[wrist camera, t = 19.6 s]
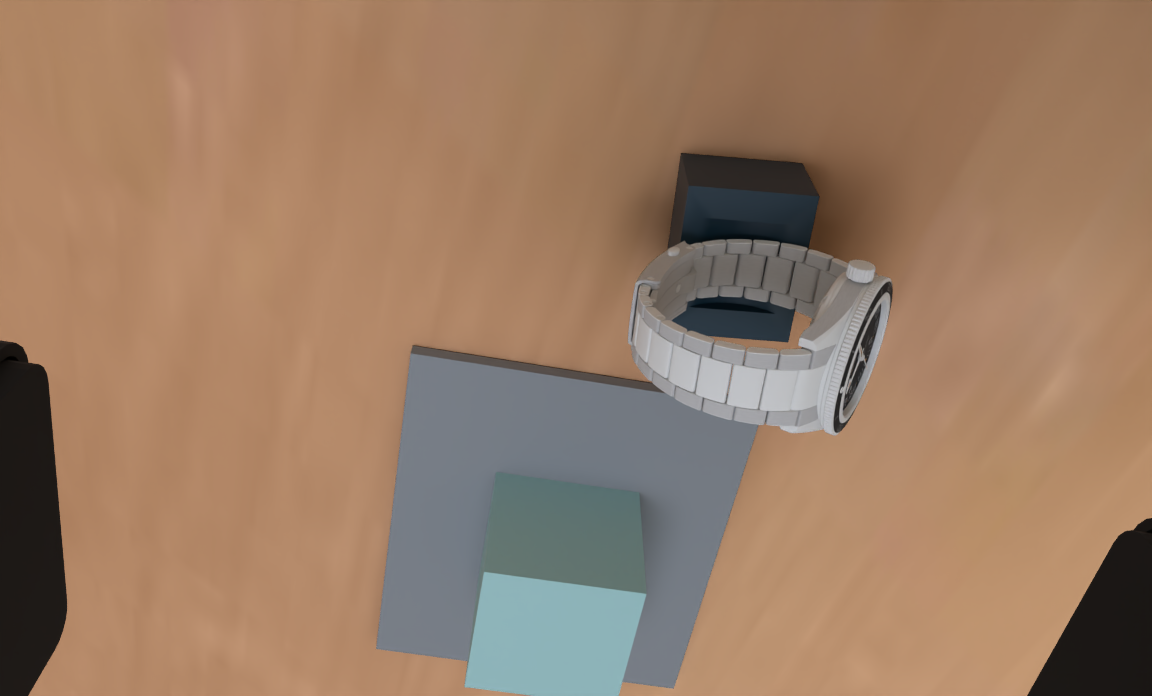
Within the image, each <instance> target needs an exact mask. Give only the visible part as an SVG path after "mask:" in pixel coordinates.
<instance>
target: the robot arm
mask: <svg viewBox="0 0 1152 696" xmlns="http://www.w3.org/2000/svg"><path fill="white" fill-rule="evenodd" d="M66 614H67V594H66V583H65V571H64V559H63V548H62V536H61V524H60V512H59V501H58V489H57V477H56V465H55V454H54V442H53V430H52V419H51V407H50V395H49V383H48V377H47V373H46V371H45V369H44V367H42V366H41V365H39V364H33V363H28V358H27V355H26V353H25V351H24V349H23V347H22V346H20V345H18V344H17V343H13V342H6V341H0V696H28V695H29V693H30V691H31V690H32V688H33V686H34V685H35V683H36V681H37V679H38V678H39V676H40V674H41V673H42V671H43V669H44V667H45V666H46V664H47V662H48V661H49V659H50V657H51V656H52V654H53V652H54V650H55V648H56V646H57V644H58V642H59V640H60V637H61V635H62V632H63V628H64V624H65V620H66ZM1027 696H1152V518H1149V519H1146V520H1144V521H1143V522H1141V523H1140V524H1138V525H1137V526H1136V528H1135V529H1134V530H1131V531H1125V532H1124V533H1122V534H1121V535H1119V536H1118V538H1117V539H1116V540H1115V542H1114V543H1113V545H1112V547H1111V548H1110V550H1109V552H1108V554H1107V556H1106V557H1105V559H1104V561H1103V563H1102V564H1101V566H1100V568H1099V570H1098V571H1097V573H1096V575H1095V577H1094V579H1093V580H1092V582H1091V584H1090V586H1089V587H1088V589H1087V591H1086V593H1085V594H1084V596H1083V598H1082V600H1081V602H1080V603H1079V605H1078V607H1077V609H1076V610H1075V612H1074V614H1073V616H1072V617H1071V619H1070V621H1069V623H1068V625H1067V626H1066V628H1065V630H1064V632H1063V633H1062V635H1061V637H1060V639H1059V640H1058V642H1057V644H1056V646H1055V648H1054V649H1053V651H1052V653H1051V655H1050V656H1049V658H1048V660H1047V662H1046V663H1045V665H1044V667H1043V669H1042V671H1041V672H1040V674H1039V676H1038V678H1037V679H1036V681H1035V683H1034V685H1033V686H1032V688H1031V690H1030V692H1029V694H1028V695H1027Z"/></svg>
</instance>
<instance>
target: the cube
mask: <svg viewBox="0 0 1152 696" xmlns="http://www.w3.org/2000/svg"><path fill="white" fill-rule="evenodd" d="M646 594H647V593H646V579H645V565H644V551H643V537H642V523H641V509H640V495H639V492H632V491H625V490H618V489H611V488H604V487H597V486H590V485H583V484H576V483H569V482H562V481H555V480H548V479H542V478H535V477H528V476H521V475H514V474H507V473H500V472H496V476H495V482H494V488H493V494H492V500H491V506H490V512H489V518H488V524H487V530H486V536H485V542H484V548H483V554H482V560H481V566H480V572H479V578H478V585H477V593H476V601H475V608H474V616H473V624H472V632H471V640H470V648H469V655H468V663H467V671H466V679H465V687H469V688H477V689H485V690H493V691H501V692H509V693H516V694H524V695H532V696H619V692H620V688H621V685H622V681H623V678H624V674H625V670H626V667H627V663H628V659H629V656H630V652H631V649H632V645H633V641H634V638H635V634H636V630H637V627H638V623H639V620H640V616H641V612H642V609H643V605H644V602H645V598H646Z"/></svg>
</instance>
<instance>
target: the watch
mask: <svg viewBox="0 0 1152 696" xmlns="http://www.w3.org/2000/svg"><path fill="white" fill-rule="evenodd" d="M818 201H819V195H818V193H817V191H816V189H815V187H814V185H813V183H812V181H811V179H810V177H809V175H808V173H807V171H806V169H805V168H804V166H803V164H802V163H792V162H780V161H768V160H756V159H745V158H733V157H721V156H709V155H697V154H686V153H681V157H680V164H679V171H678V178H677V185H676V192H675V199H674V206H673V214H672V221H671V228H670V235H669V242H668V249H667V251H665V252H664V253H662V254H661V255H659V256H658V257H656V258H655V259H654V260H653V261H652V262H651V263H650V264H649V265H648V266H647V267H646V268H645V269H644V270H643V272H642V273H641V275H640V276H639V278H638V280H637V281H636V283H635V288H634V294H633V301H632V307H631V314H630V323H629V333H628V343H629V344H630V345H632V346H631V350H632V357H633V359H634V362H635V364H637V366H638V368H639V369H640V371H641V372H642V373H643V374H644V376H645V377H646V378H647V379H648V380H650V381H652V383H653V384H654V385H655V386H657V387H658V388H659V389H661V390H662V391H664V392H665V393H667V394H668V395H670V396H674V398H675V399H676V400H678V401H680V402H682V403H683V404H685V405H688V406H690V407H692V408H694V409H697V410H701V409H702V410H703V412H706V413H708V414H711V415H714V416H717V417H721V418H724V419H728V420H732V419H734V420H735V421H739V422H744V423H750V424H758V425H764V424H765V422H766V424H767V425H773V426H780V429H782V430H784V431H787V432H790V433H804V432H812V431H817V430H822V429H824V430H825V432H826V433H829V434H831V435H837V434H838V433H839V432H840V431H841V430H842V429H843V428H844V427H845V425H846V424H847V423H848V421H849V419H850V418H851V416H852V414H853V412H854V411H855V409H856V407H857V405H858V403H859V401H860V398H861V396H862V394H863V392H864V390H865V387H866V385H867V383H868V380H869V378H870V375H871V373H872V370H873V367H874V365H875V362H876V359H877V356H878V353H879V350H880V347H881V344H882V340H883V337H884V333H885V330H886V326H887V322H888V317H889V313H890V308H891V302H892V281H891V279H890V278H888V277H885V276H878V274H877V273H876V272H875V269H876V267H875V265H873V264H872V263H870V262H867V261H864V260H858V259H857V260H851V261H849V263H846V262H844V261H842V260H840V259H837V258H834V257H833V256H831V255H828V254H825V253H822V252H819V251H816V250H812V249H809V250H808V247H809V243H810V238H811V233H812V229H813V224H814V219H815V215H816V210H817V206H818ZM833 258H834V259H833ZM795 310H796V311H797V312H799V313H802V314H804V315H806V316H808V317H810V318H812V321H811V323H810V326H809V327H808V328H807V329H806V330H804V331H803V333H802V335H801V336H800V340H799V344H798V345H799V346H801V347H802V348H801V349H782V350H781V351H780V353H779V352H778V350H776V349H773V348H758V347H749V348H747V351H746V348H745V346H743V345H740V344H734V343H729V342H725V341H716V342H715V343H714V339H713V338H712V337H709V336H715V337H728V338H741V339H753V340H766V341H779V342H788V340H789V336H790V331H791V326H792V322H793V317H794V312H795ZM745 351H746V356H745ZM744 356H745V361H744ZM733 364H734V365H733ZM732 365H733V371H732ZM731 371H732V376H731ZM730 376H731V381H730ZM729 381H730V387H729ZM728 387H729V392H728ZM727 392H728V397H727ZM726 397H727V399H726ZM760 397H761V398H760ZM735 406H736V408H735ZM734 408H735V413H734ZM733 413H734V418H733Z"/></svg>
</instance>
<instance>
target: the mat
mask: <svg viewBox="0 0 1152 696" xmlns="http://www.w3.org/2000/svg"><path fill="white" fill-rule="evenodd" d="M727 397H728V395H727ZM727 397H726V399H727ZM735 408H736V406H735ZM735 408H734V413H735ZM734 413H733V418H734ZM757 428H758V424H750V423H744V422H739V421H735V420H734V419H732V420H728V419H724V418H721V417H717V416H714V415H711V414H708V413H706V412H703V410H702V409H701V410H697V409H694V408H692V407H690V406H688V405H685V404H683V403H682V402H680V401H678V400H676V399H675V398H674V396H670V395H668V394H667V393H665V392H664V391H662V390H661V389H659V388H658V387H657V386H655V385H654V384H653V383H647V382H641V381H634V380H628V379H622V378H615V377H609V376H602V375H596V374H590V373H583V372H577V371H571V370H564V369H558V368H552V367H545V366H539V365H533V364H526V363H520V362H514V361H507V360H501V359H495V358H488V357H482V356H476V355H469V354H463V353H457V352H450V351H444V350H438V349H431V348H425V347H419V346H413V347H412V351H411V355H410V364H409V373H408V381H407V390H406V398H405V407H404V415H403V424H402V433H401V441H400V450H399V458H398V467H397V475H396V484H395V493H394V501H393V510H392V518H391V527H390V535H389V544H388V553H387V561H386V570H385V578H384V587H383V595H382V604H381V612H380V621H379V630H378V638H377V647H376V649H381V650H388V651H396V652H403V653H411V654H418V655H426V656H433V657H441V658H448V659H456V660H463V661H468V655H469V648H470V640H471V632H472V624H473V616H474V608H475V601H476V593H477V585H478V578H479V572H480V566H481V560H482V554H483V548H484V542H485V536H486V530H487V524H488V518H489V512H490V506H491V500H492V494H493V488H494V482H495V476H496V472H500V473H507V474H514V475H521V476H528V477H535V478H542V479H548V480H555V481H562V482H569V483H576V484H583V485H590V486H597V487H604V488H611V489H618V490H625V491H632V492H639V495H640V509H641V523H642V537H643V551H644V565H645V579H646V593H647V594H646V598H645V602H644V605H643V609H642V612H641V616H640V620H639V623H638V627H637V630H636V634H635V638H634V641H633V645H632V649H631V652H630V656H629V659H628V663H627V667H626V670H625V674H624V678H623V681H622V682H628V683H636V684H643V685H651V686H658V687H666V688H673V689H674V686H675V683H676V680H677V676H678V673H679V670H680V667H681V664H682V661H683V658H684V655H685V652H686V649H687V645H688V642H689V639H690V636H691V633H692V630H693V627H694V624H695V621H696V617H697V614H698V611H699V608H700V605H701V602H702V599H703V596H704V593H705V590H706V586H707V583H708V580H709V577H710V574H711V571H712V568H713V565H714V562H715V559H716V555H717V552H718V549H719V546H720V543H721V540H722V537H723V534H724V531H725V527H726V524H727V521H728V518H729V515H730V512H731V509H732V506H733V503H734V500H735V496H736V493H737V490H738V487H739V484H740V481H741V478H742V475H743V472H744V468H745V465H746V462H747V459H748V456H749V453H750V450H751V447H752V444H753V441H754V437H755V434H756V431H757Z"/></svg>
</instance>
